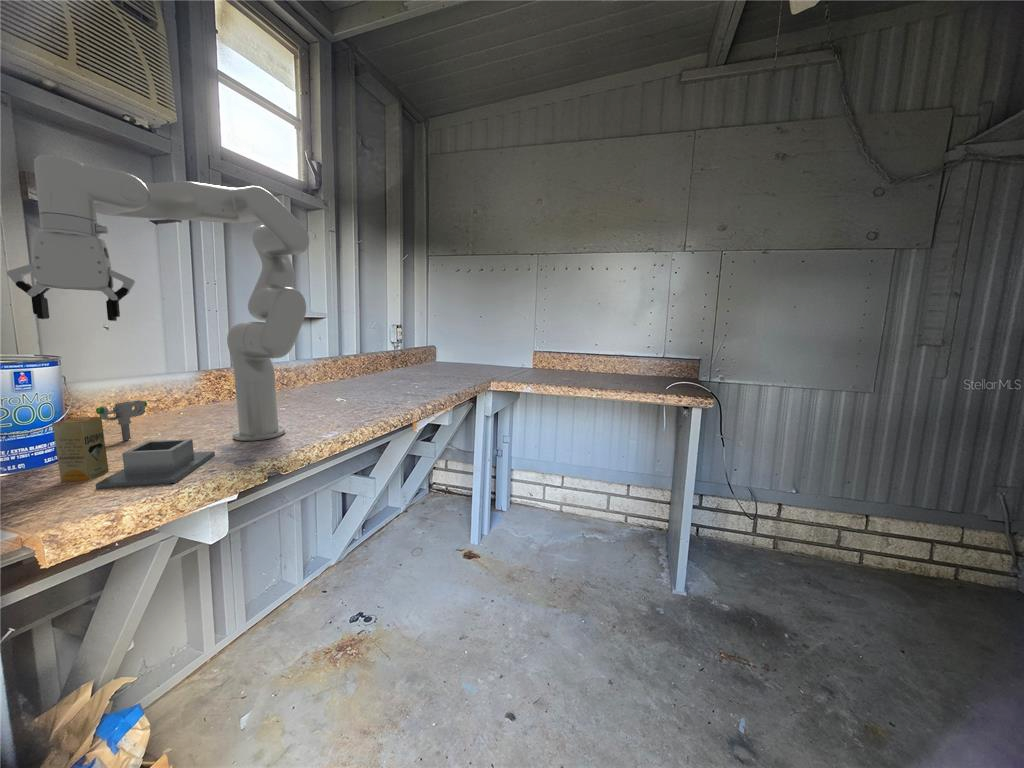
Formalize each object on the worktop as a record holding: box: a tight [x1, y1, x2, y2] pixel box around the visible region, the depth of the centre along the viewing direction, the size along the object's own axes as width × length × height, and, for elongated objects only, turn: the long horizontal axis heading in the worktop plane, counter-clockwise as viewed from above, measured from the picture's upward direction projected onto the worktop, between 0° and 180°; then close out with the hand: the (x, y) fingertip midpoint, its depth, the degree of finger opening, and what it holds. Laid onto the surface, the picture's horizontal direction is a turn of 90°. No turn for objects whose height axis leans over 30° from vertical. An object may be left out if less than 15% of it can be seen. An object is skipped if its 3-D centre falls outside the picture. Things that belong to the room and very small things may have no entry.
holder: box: [94, 438, 216, 490], centre depth 90 cm, size 18×13×6 cm
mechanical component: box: [95, 399, 148, 441], centre depth 110 cm, size 3×10×10 cm, turn 160°
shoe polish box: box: [51, 416, 110, 483], centre depth 85 cm, size 5×5×12 cm
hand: (79, 319), depth 81 cm, fingers open, 9 cm apart
